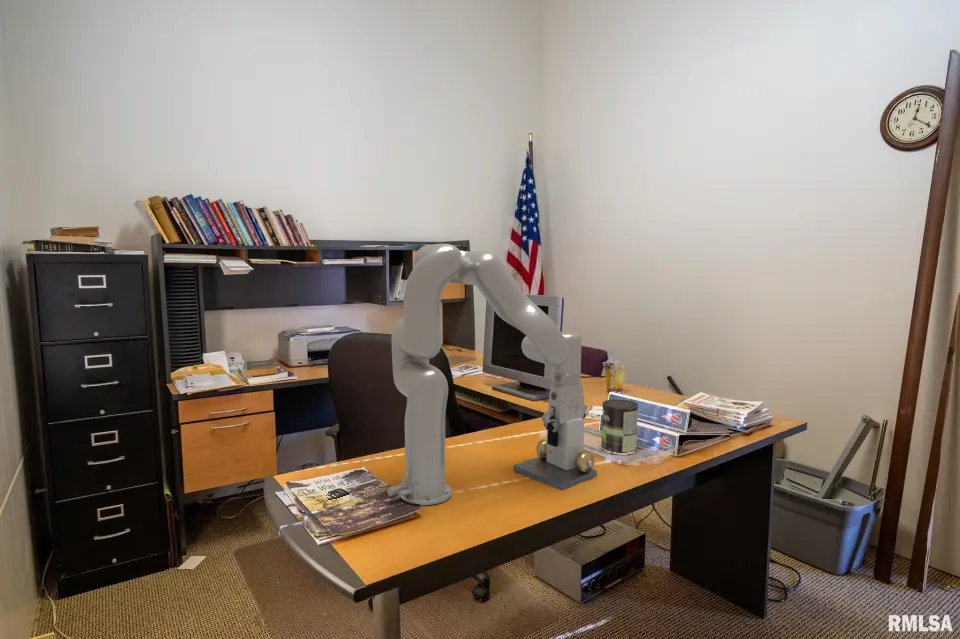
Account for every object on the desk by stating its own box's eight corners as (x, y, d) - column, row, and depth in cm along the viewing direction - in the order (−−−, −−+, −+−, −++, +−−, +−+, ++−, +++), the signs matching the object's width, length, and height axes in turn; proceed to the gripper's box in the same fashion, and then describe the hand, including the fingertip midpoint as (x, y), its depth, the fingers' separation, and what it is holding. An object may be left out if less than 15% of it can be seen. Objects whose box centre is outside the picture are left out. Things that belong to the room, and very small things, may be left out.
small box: (583, 466, 151) (585, 418, 150) (565, 471, 148) (566, 422, 146) (563, 457, 158) (564, 411, 157) (545, 461, 155) (546, 415, 153)
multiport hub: (298, 511, 128) (298, 501, 127) (340, 496, 136) (339, 487, 136) (309, 517, 125) (309, 507, 125) (351, 501, 133) (350, 492, 133)
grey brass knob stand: (563, 490, 139) (563, 465, 138) (511, 470, 152) (511, 446, 152) (598, 476, 148) (599, 452, 148) (546, 458, 162) (547, 436, 161)
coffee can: (604, 455, 165) (605, 407, 163) (598, 443, 175) (599, 399, 173) (640, 456, 164) (642, 408, 163) (632, 444, 174) (633, 399, 173)
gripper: (555, 385, 142) (554, 452, 144) (597, 376, 153) (596, 438, 155) (533, 380, 147) (532, 445, 149) (575, 372, 159) (574, 432, 161)
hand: (564, 441), depth 152 cm, fingers open, 9 cm apart
